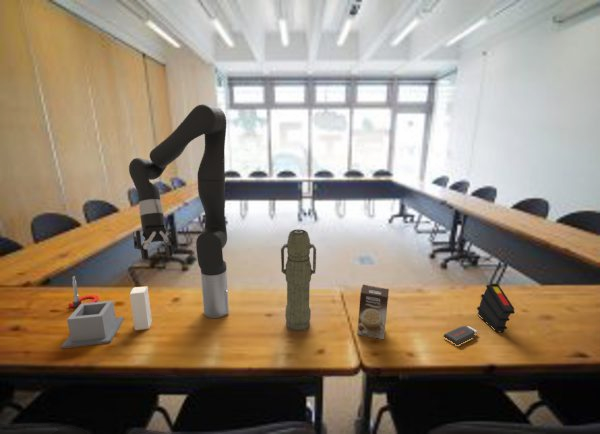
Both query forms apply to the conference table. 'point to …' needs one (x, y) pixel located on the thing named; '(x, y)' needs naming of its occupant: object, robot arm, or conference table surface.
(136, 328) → the white square block
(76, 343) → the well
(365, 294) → the coffee box
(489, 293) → the black ridged case
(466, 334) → the usb drive
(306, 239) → the thermos
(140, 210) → the robot arm
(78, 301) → the tow hook
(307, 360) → the conference table surface
